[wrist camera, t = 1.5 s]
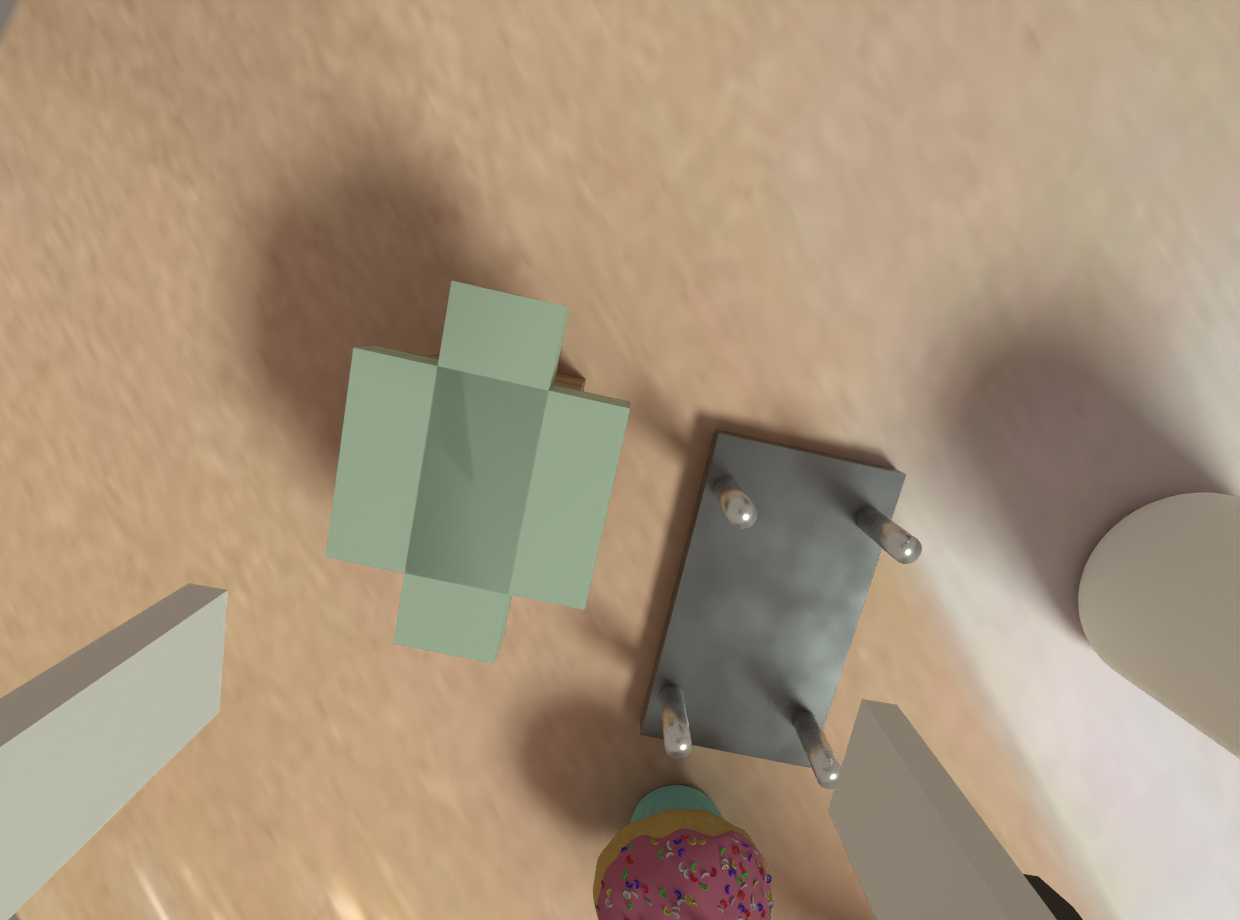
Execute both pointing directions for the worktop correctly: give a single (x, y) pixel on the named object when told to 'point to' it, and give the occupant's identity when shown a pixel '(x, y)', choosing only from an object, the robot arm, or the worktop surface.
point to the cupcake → (681, 864)
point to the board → (475, 472)
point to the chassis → (770, 600)
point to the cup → (1172, 607)
